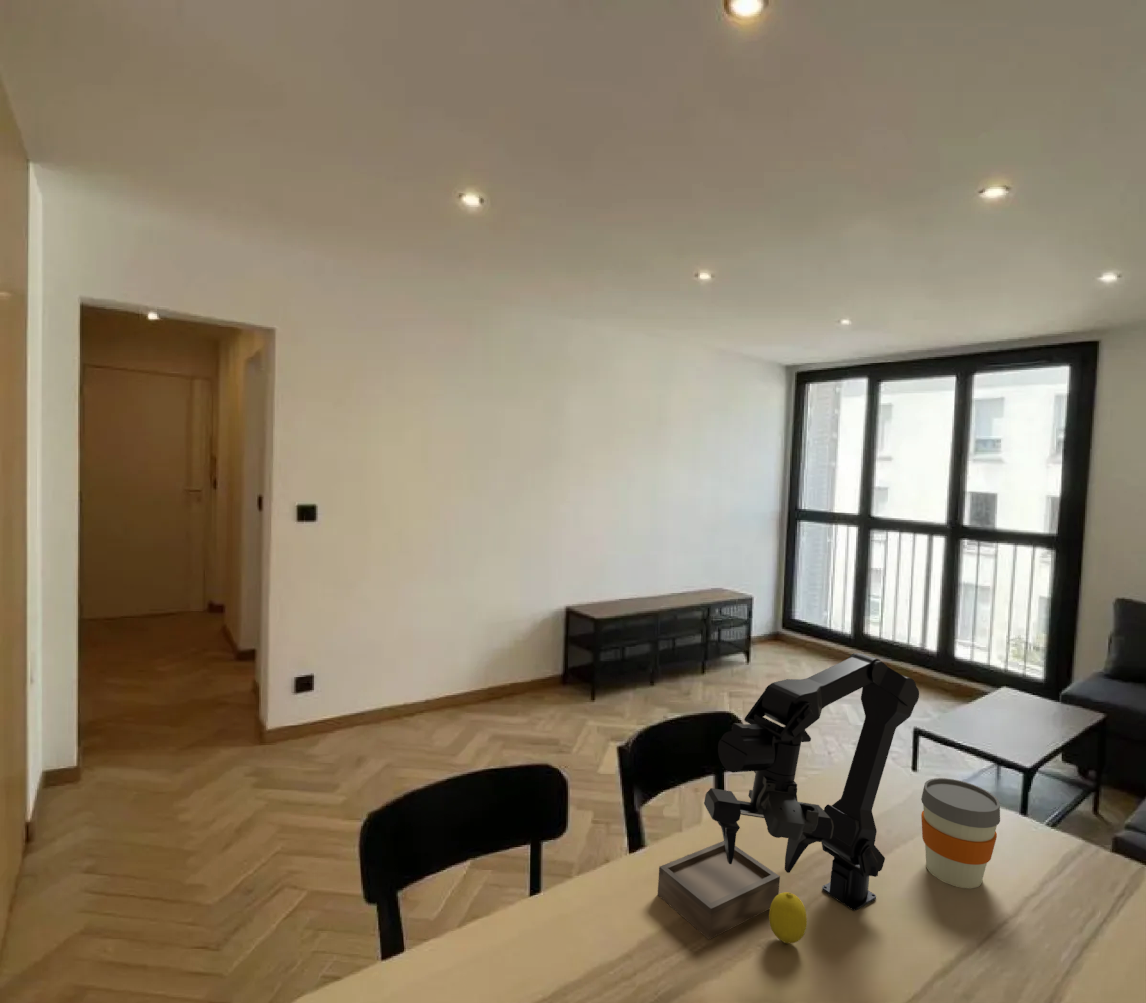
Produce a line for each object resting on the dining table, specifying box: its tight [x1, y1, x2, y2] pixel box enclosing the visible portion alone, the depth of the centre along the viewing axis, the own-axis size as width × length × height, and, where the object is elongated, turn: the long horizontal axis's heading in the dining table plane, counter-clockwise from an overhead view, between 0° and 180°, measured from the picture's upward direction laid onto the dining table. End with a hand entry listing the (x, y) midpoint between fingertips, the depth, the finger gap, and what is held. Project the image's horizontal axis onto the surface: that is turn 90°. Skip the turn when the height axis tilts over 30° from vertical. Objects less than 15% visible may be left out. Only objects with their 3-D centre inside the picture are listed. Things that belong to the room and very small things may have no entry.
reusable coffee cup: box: [920, 777, 1001, 889], centre depth 124 cm, size 13×12×15 cm
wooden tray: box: [657, 840, 781, 940], centre depth 114 cm, size 16×12×5 cm
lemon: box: [768, 891, 808, 944], centre depth 104 cm, size 6×6×8 cm
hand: (758, 867), depth 105 cm, fingers open, 9 cm apart
